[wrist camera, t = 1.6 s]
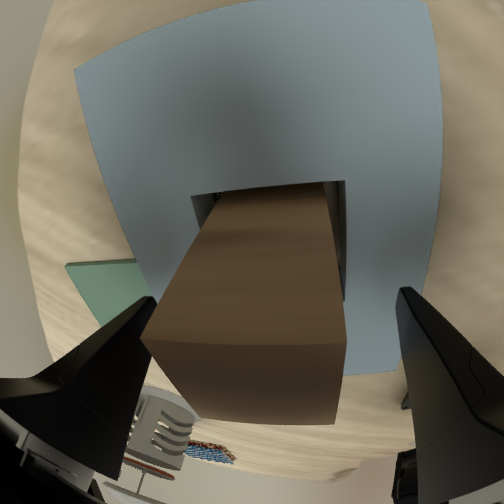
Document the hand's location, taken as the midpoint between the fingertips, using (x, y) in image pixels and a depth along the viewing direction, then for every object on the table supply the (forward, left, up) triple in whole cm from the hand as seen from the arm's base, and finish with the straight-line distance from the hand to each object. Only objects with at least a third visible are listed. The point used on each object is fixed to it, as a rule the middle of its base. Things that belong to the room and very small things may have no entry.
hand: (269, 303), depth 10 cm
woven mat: (-44, +19, -6) cm, 48 cm away
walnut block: (0, 0, -6) cm, 6 cm away
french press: (-23, +17, -6) cm, 29 cm away
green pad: (-6, +12, -5) cm, 15 cm away
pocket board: (0, 0, -5) cm, 5 cm away
